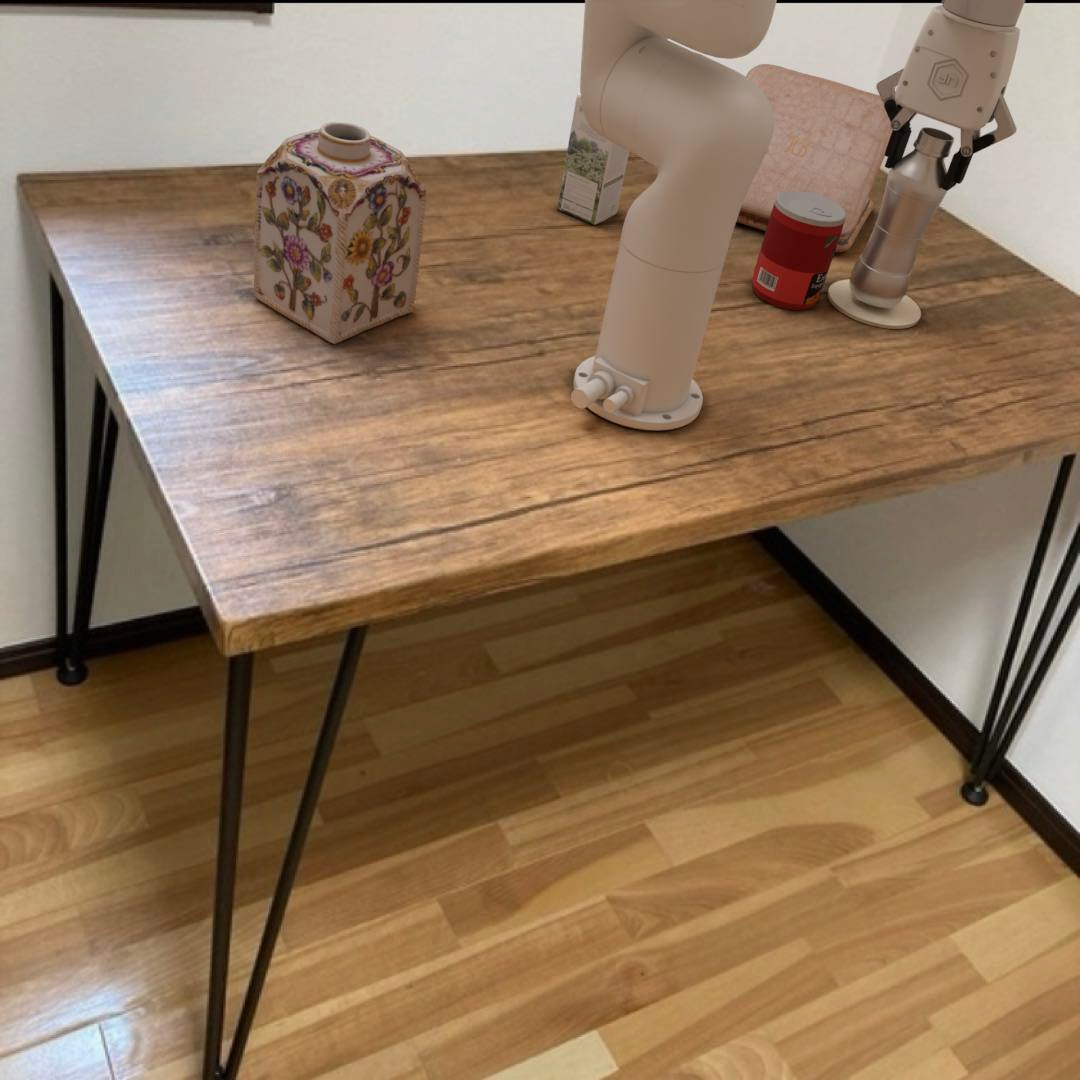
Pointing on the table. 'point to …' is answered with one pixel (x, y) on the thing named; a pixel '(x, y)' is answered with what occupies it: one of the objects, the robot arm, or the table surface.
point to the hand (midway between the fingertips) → (920, 174)
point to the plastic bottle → (902, 221)
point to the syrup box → (591, 172)
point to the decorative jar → (338, 231)
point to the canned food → (797, 249)
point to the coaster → (873, 309)
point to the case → (818, 146)
